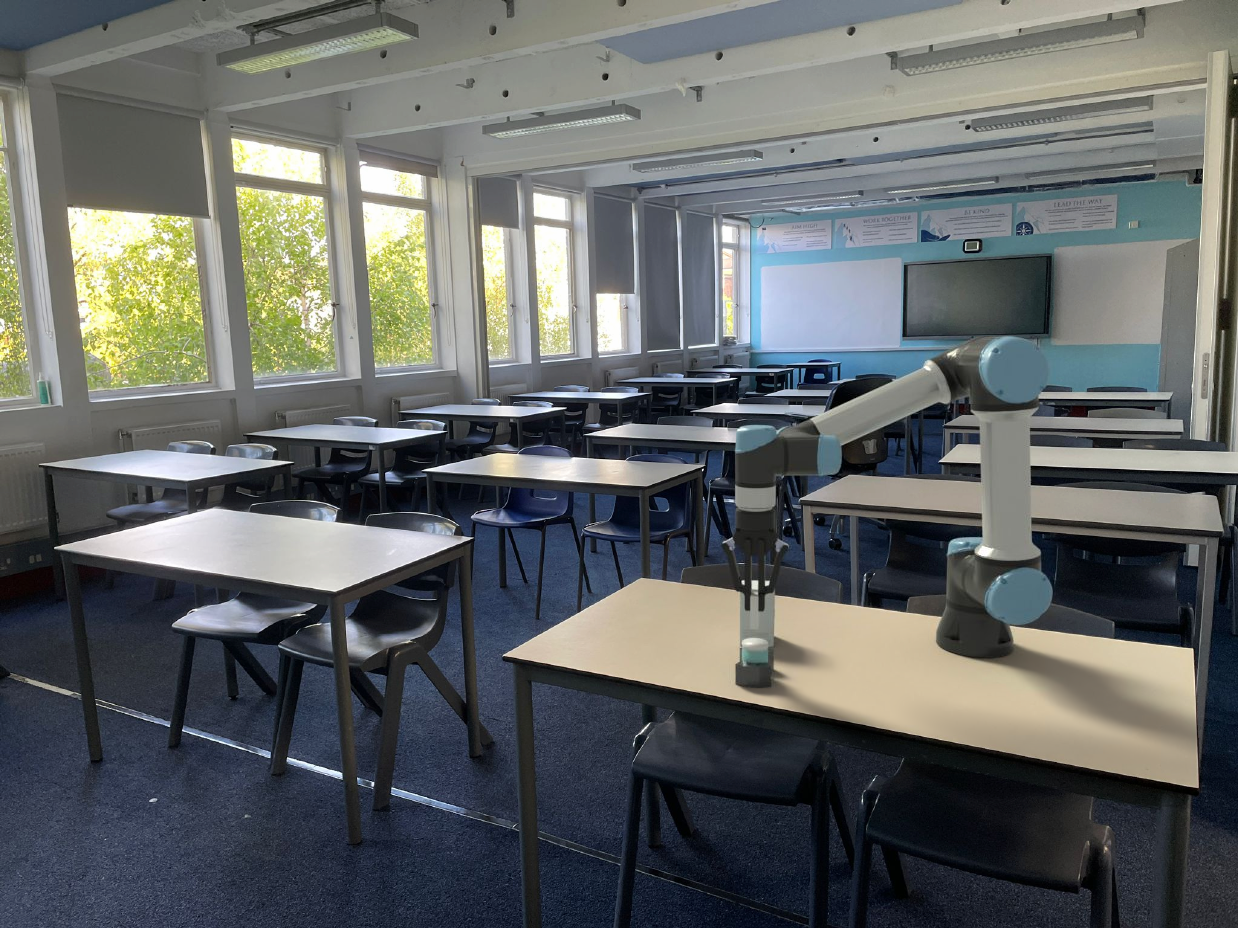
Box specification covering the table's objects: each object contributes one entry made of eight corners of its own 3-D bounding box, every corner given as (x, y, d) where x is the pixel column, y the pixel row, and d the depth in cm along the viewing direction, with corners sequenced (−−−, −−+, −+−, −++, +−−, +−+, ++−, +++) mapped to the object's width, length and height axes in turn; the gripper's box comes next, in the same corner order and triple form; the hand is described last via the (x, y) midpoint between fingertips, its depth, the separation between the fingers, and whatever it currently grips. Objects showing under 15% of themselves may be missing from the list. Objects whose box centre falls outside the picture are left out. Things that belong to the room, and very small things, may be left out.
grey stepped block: (773, 666, 173) (774, 647, 172) (770, 688, 162) (771, 668, 162) (740, 664, 174) (740, 645, 173) (734, 685, 164) (734, 665, 163)
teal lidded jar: (768, 672, 170) (768, 638, 169) (767, 682, 165) (767, 647, 164) (743, 670, 171) (743, 637, 170) (740, 680, 166) (740, 646, 165)
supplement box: (774, 647, 183) (774, 590, 181) (739, 645, 185) (739, 588, 183) (774, 635, 190) (775, 580, 189) (741, 634, 192) (741, 579, 190)
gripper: (791, 504, 165) (789, 622, 169) (723, 502, 168) (723, 618, 172) (789, 512, 158) (788, 635, 161) (718, 510, 161) (718, 631, 164)
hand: (754, 626), depth 167 cm, fingers closed
